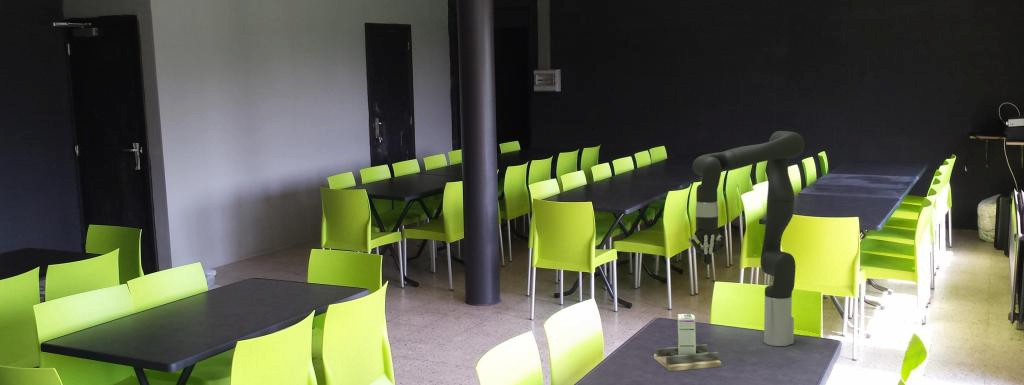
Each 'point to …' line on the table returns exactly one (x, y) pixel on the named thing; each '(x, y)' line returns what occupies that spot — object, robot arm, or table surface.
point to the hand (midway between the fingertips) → (706, 264)
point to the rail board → (687, 358)
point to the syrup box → (686, 334)
